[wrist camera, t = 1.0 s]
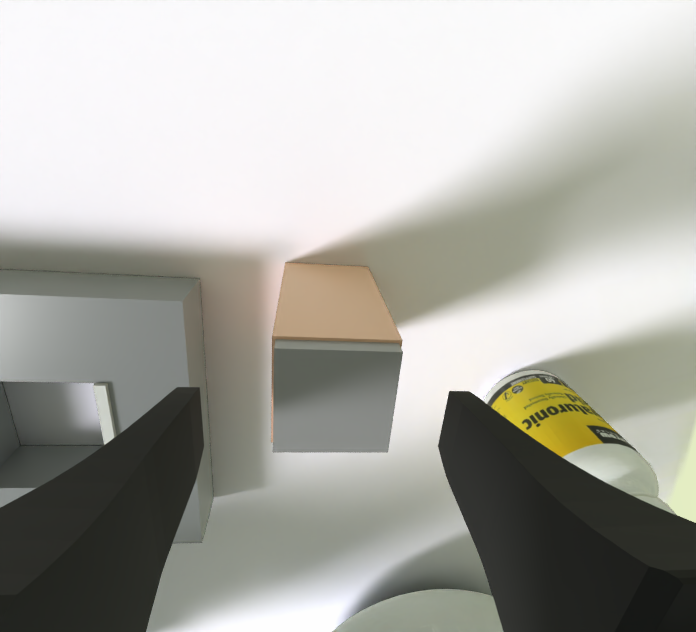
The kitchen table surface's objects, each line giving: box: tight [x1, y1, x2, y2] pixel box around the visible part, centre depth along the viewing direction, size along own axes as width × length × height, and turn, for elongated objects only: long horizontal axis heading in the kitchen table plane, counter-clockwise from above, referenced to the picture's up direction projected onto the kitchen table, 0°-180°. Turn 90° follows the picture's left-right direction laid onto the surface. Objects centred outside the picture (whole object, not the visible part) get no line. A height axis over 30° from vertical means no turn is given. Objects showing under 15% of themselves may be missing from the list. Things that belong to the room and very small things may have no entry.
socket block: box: [0, 269, 214, 543], centre depth 20 cm, size 14×14×3 cm
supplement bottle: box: [484, 370, 676, 515], centre depth 20 cm, size 5×5×10 cm
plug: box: [271, 262, 403, 452], centre depth 17 cm, size 4×4×9 cm
